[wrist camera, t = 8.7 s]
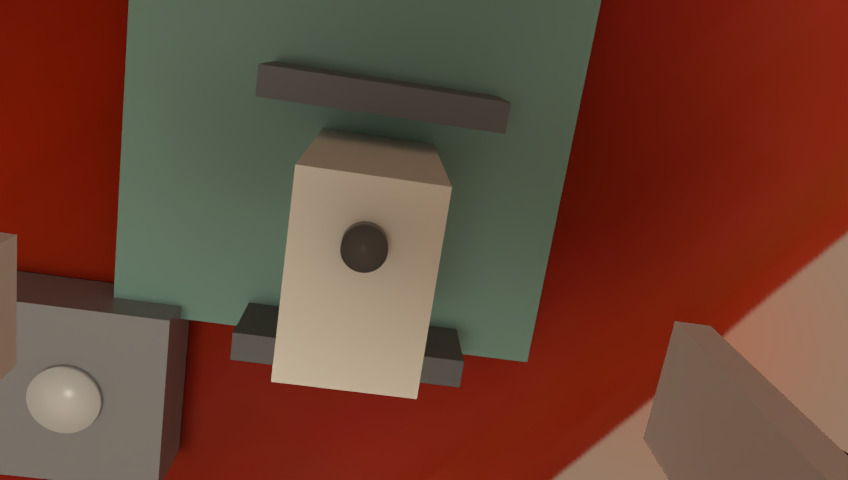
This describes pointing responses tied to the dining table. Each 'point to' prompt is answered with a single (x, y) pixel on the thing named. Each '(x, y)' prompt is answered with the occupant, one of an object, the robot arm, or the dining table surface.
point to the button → (91, 383)
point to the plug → (361, 264)
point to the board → (352, 112)
